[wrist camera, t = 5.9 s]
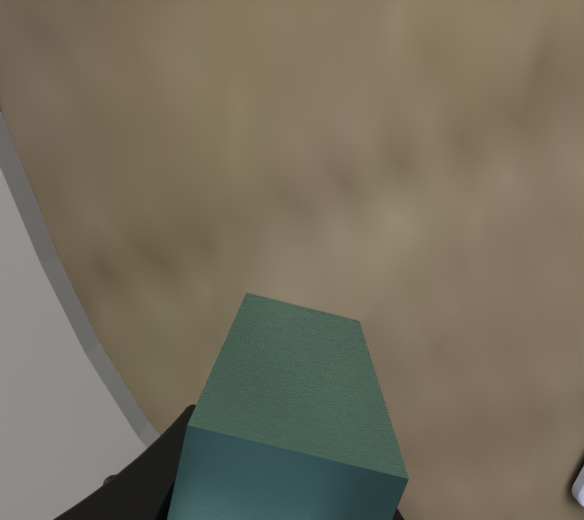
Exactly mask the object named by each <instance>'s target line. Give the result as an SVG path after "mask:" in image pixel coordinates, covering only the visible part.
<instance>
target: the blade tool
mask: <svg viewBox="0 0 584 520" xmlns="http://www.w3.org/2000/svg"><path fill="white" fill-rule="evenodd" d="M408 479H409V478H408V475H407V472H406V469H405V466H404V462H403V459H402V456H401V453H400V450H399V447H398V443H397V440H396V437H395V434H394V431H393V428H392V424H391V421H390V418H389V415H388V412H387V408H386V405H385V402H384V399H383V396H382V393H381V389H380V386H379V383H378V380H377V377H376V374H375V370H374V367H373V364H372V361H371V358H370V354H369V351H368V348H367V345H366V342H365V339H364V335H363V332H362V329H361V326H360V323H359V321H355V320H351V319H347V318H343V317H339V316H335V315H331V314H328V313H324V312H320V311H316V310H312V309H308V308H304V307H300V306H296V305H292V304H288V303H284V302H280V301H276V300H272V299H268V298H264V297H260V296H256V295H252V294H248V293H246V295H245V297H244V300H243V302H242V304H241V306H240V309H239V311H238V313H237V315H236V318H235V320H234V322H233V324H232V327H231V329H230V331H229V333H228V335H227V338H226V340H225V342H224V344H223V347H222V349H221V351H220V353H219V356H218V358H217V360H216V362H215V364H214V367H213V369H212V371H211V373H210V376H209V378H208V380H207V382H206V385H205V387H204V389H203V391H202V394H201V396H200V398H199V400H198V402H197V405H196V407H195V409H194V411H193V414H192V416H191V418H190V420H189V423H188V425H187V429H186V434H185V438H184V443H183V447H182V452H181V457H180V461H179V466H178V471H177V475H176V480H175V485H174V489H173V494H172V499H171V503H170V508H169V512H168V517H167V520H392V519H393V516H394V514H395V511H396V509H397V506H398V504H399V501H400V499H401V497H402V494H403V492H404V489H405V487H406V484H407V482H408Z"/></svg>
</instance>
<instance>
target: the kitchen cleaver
mask: <svg viewBox="0 0 584 520" xmlns="http://www.w3.org/2000/svg"><path fill="white" fill-rule="evenodd" d="M160 436H161V435H160V434H159V433H158V432H157V431H156V430H155V429H154V427H153V426H152V425H151V424H150V423H149V422H148V420H147V419H146V417H145V415H144V414H143V412H142V410H141V409H140V407H139V406H138V404H137V402H136V401H135V399H134V398H133V396H132V394H131V393H130V391H129V389H128V388H127V386H126V385H125V383H124V381H123V380H122V378H121V377H120V375H119V373H118V372H117V370H116V368H115V367H114V365H113V364H112V362H111V360H110V359H109V357H108V356H107V354H106V352H105V351H104V349H103V347H102V346H101V344H100V343H99V341H98V338H97V336H96V334H95V332H94V330H93V328H92V326H91V324H90V322H89V320H88V318H87V316H86V313H85V311H84V309H83V307H82V305H81V303H80V301H79V299H78V297H77V295H76V293H75V290H74V288H73V286H72V284H71V282H70V280H69V278H68V276H67V274H66V272H65V270H64V268H63V265H62V263H61V261H60V259H59V257H58V255H57V252H56V250H55V247H54V245H53V242H52V239H51V237H50V234H49V232H48V229H47V227H46V224H45V222H44V219H43V217H42V214H41V212H40V209H39V207H38V204H37V201H36V199H35V196H34V194H33V191H32V189H31V186H30V184H29V181H28V179H27V176H26V174H25V171H24V168H23V166H22V163H21V161H20V158H19V156H18V153H17V151H16V148H15V146H14V143H13V141H12V138H11V136H10V133H9V130H8V128H7V125H6V123H5V120H4V118H3V115H2V113H1V111H0V520H53V519H55V518H56V517H58V516H59V515H61V514H62V513H64V512H65V511H67V510H69V509H70V508H72V507H73V506H75V505H76V504H78V503H79V502H80V501H82V500H83V499H85V498H86V497H87V496H89V495H90V494H92V493H93V492H94V491H96V490H97V489H99V488H100V487H101V486H103V485H104V484H105V483H106V482H108V481H109V480H110V479H111V478H110V475H115V474H118V473H119V472H120V471H121V470H123V469H124V468H125V467H126V466H127V465H129V464H130V463H131V462H132V461H134V460H135V459H136V458H137V457H138V456H139V455H141V454H142V453H143V452H144V451H145V450H146V449H147V448H148V447H149V446H150V445H151V444H152V443H154V442H155V441H156V440H157V439H158V438H159V437H160Z"/></svg>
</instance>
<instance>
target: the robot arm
mask: <svg viewBox="0 0 584 520" xmlns="http://www.w3.org/2000/svg"><path fill="white" fill-rule="evenodd" d="M195 407H196V405H190V406H188V407H187V408H186V409H185V410H184V412H183V413H182V414H181V415H180V416H179V417H178V419H177V420H176V421H175V422H174V423H173V424H172V425H171V426H170V427H169V428H168V429H167V430H166V431H165V432H164V433H163V434H162V435H161V436H160V437H159V438H158V439H157V440H156V441H155V442H154V443H152V444H151V445H150V446H149V447H148V448H147V449H146V450H145V451H144V452H143V453H142V454H141V455H139V456H138V457H137V458H136V459H135V460H134V461H132V462H131V463H130V464H129V465H127V466H126V467H125V468H124V469H123V470H121V471H120V472H119V473H118V474H117V475H115V476H114V477H113V478H112V479H110V480H109V481H108V482H106V483H105V484H104V485H103V486H101V487H100V488H99V489H97V490H96V491H94V492H93V493H92V494H90V495H89V496H87V497H86V498H85V499H83V500H82V501H80V502H79V503H78V504H76V505H75V506H73V507H72V508H70V509H69V510H67V511H65V512H64V513H62V514H61V515H59V516H58V517H56V518H55V519H53V520H167V517H168V512H169V508H170V503H171V499H172V494H173V489H174V485H175V480H176V475H177V471H178V466H179V461H180V457H181V452H182V447H183V443H184V438H185V434H186V429H187V425H188V423H189V420H190V418H191V416H192V414H193V411H194V409H195ZM572 494H573V496H574V497H575V498H576V500H577V501H578V502H579V503H580V505H581V506H582V507H584V466H583V468H582V470H581V472H580V473H579V475H578V477H577V479H576V481H575V483H574V485H573V487H572ZM392 520H404V518H403V517H402V515H401V514H400V512H399V510H398V509H396V511H395V514H394V516H393V519H392Z"/></svg>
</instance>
